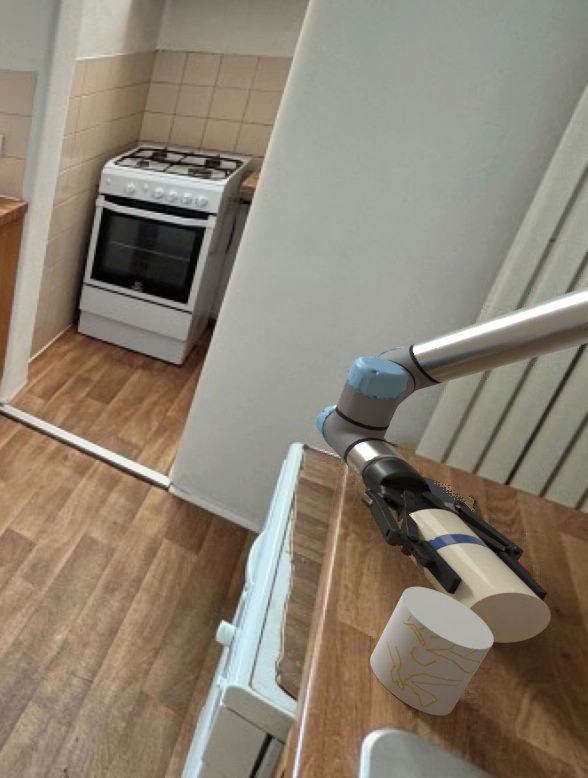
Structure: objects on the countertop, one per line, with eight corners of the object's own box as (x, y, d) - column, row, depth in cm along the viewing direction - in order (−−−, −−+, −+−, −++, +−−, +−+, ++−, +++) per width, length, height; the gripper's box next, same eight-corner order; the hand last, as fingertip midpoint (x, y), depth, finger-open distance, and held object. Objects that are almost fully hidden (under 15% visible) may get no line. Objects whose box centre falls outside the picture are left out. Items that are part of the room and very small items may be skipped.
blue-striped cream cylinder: (533, 648, 79) (564, 600, 76) (454, 635, 81) (481, 587, 78) (452, 558, 92) (475, 513, 89) (385, 548, 94) (405, 504, 91)
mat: (467, 493, 109) (468, 490, 109) (477, 519, 103) (478, 517, 103) (395, 469, 114) (396, 467, 114) (401, 493, 109) (402, 491, 108)
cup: (366, 680, 78) (399, 615, 73) (373, 638, 83) (405, 575, 79) (452, 730, 72) (494, 664, 68) (454, 682, 78) (493, 617, 73)
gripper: (453, 502, 100) (580, 628, 80) (308, 483, 104) (394, 598, 83) (471, 467, 97) (607, 587, 77) (322, 448, 101) (414, 558, 81)
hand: (496, 593), depth 80 cm, fingers closed on blue-striped cream cylinder, 9 cm apart
